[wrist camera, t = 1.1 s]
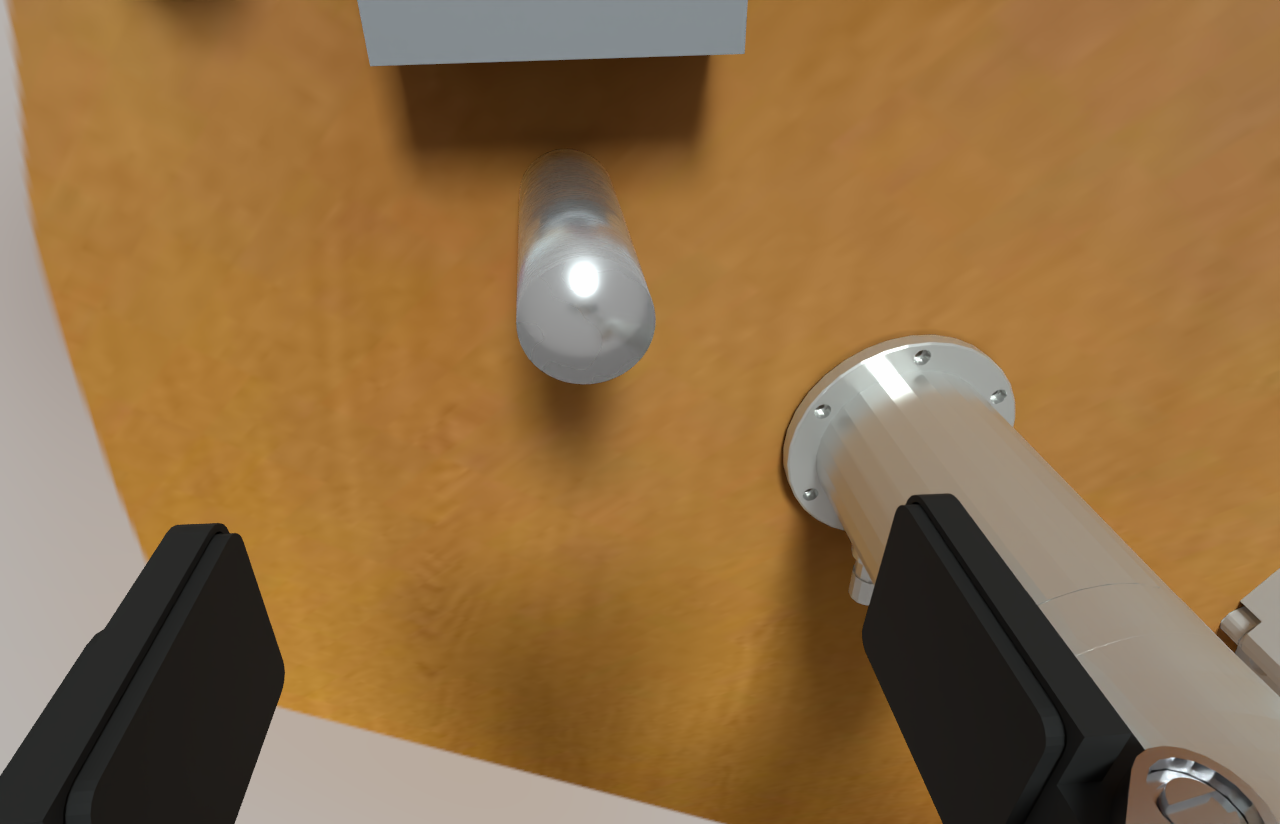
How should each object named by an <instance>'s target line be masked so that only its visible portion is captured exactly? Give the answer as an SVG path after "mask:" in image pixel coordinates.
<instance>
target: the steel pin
mask: <svg viewBox="0 0 1280 824" xmlns="http://www.w3.org/2000/svg"><path fill="white" fill-rule="evenodd" d="M516 323H517V333H518V338H519V341H520V344H521V346H522V348H523V350H524V352H525V354H526V355H527V357H528V358H529V359H530V360H531V362H532V363H533V364H534V365H535V366H536V367H538V368H539V369H540V370H541V371H543V372H544V373H546V374H547V375H549V376H551V377H553V378H555V379H558V380H561V381H564V382H569V383H574V384H594V383H600V382H604V381H608V380H611V379H613V378H616V377H618V376H620V375H622V374H623V373H625V372H626V371H628V370H629V369H631V368H632V367H633V366H634V365H635V364H636V363H637V362H638V361H639V360H640V359H641V358H642V357H643V355H644V354H645V352H646V351H647V349H648V347H649V345H650V343H651V341H652V338H653V334H654V330H655V310H654V306H653V302H652V299H651V296H650V293H649V290H648V287H647V284H646V281H645V278H644V275H643V273H642V270H641V267H640V264H639V261H638V258H637V255H636V252H635V249H634V246H633V243H632V240H631V237H630V234H629V231H628V228H627V225H626V222H625V219H624V216H623V213H622V211H621V208H620V205H619V202H618V199H617V196H616V193H615V190H614V187H613V184H612V181H611V179H610V176H609V174H608V173H607V171H606V170H605V168H604V167H603V166H602V165H601V163H600V162H599V161H597V160H596V159H595V158H593V157H592V156H590V155H589V154H586V153H584V152H581V151H578V150H573V149H559V150H554V151H551V152H548V153H546V154H544V155H542V156H540V157H539V158H538V159H536V160H535V161H534V162H533V163H532V164H531V165H530V166H529V168H528V169H527V170H526V172H525V174H524V176H523V179H522V181H521V185H520V192H519V229H518V274H517V318H516Z"/></svg>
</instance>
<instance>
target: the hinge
mask: <svg viewBox="0 0 1280 824" xmlns="http://www.w3.org/2000/svg"><path fill="white" fill-rule="evenodd" d="M1240 602H1241V603H1242V604H1244V605H1245V606H1243V607H1241V608H1239V609H1236V610H1234V611H1232V612H1230V613H1229V614H1228V615H1227V616H1226V617H1225V618H1224V619H1223V620H1222V621H1221V628H1220V629H1222V630H1223V631H1224V632H1225V633H1226V634H1227V635H1228V636H1229V637H1230V638H1231V639H1232V640H1233V641H1234V642H1235V643H1236V644H1237V645H1238V647H1237V649H1236V652H1235V654H1236V655H1237V656H1238V657H1239V658H1240V659H1241V660H1242V661H1243V662H1244V663H1245V664H1246V665H1247V666H1248V667H1249V668H1250V669H1251V670H1252V671H1253V672H1254V673H1256V674H1257V675H1258V676H1259V677H1260V678H1261V679H1262V680H1263V681H1264V682H1265V683H1266V684H1267V685H1268V686H1269V687H1270V688H1271V689H1272V690H1273V691H1274V692H1275V693H1276V694H1277V695H1278V696H1279V697H1280V568H1279V569H1278V570H1277V571H1276V572H1275V573H1273V574H1272V575H1271V576H1270V577H1268V578H1267V579H1266V580H1265V581H1264V582H1262V583H1261V584H1260V585H1259V586H1258V587H1256V588H1255V589H1254V590H1253V591H1252V592H1250V593H1249V594H1248V595H1247V596H1245V597H1244V598H1243V599H1242V600H1241V601H1240Z"/></svg>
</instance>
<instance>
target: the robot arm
mask: <svg viewBox="0 0 1280 824" xmlns="http://www.w3.org/2000/svg"><path fill="white" fill-rule="evenodd" d="M1014 421H1015V399H1014V395H1013V391H1012V388H1011V384H1010V382H1009V381H1008V379H1007V377H1006V376H1005V374H1004V372H1003V371H1002V369H1001V368H1000V367H999V366H998V365H997V364H996V363H995V362H994V361H993V360H992V359H991V358H990V357H989V356H988V355H986V354H985V353H983V352H982V351H981V350H979V349H978V348H976V347H975V346H974V345H971V344H969V343H966V342H964V341H961V340H959V339H956V338H952V337H945V336H939V335H912V336H907V337H902V338H897V339H892V340H888V341H885V342H882V343H880V344H877V345H874V346H872V347H869V348H866V349H864V350H862V351H861V352H859V353H857V354H855V355H853V356H852V357H850V358H848V359H846V360H844V361H843V362H842V363H840V364H839V365H838V366H836V367H835V368H834V369H833V370H831V371H830V372H829V373H827V374H826V375H825V376H824V377H823V378H822V379H821V380H820V381H819V382H818V383H817V384H816V385H815V386H814V387H813V388H812V389H811V390H810V391H809V392H808V394H807V395H806V397H805V398H804V400H803V401H802V403H801V404H800V405H799V407H798V408H797V410H796V412H795V414H794V416H793V418H792V421H791V423H790V425H789V427H788V430H787V434H786V438H785V443H784V447H783V465H784V469H785V473H786V477H787V481H788V483H789V485H790V487H791V489H792V491H793V494H794V496H795V498H796V499H797V500H798V502H799V503H800V504H801V506H802V507H803V508H804V510H805V511H807V512H808V513H809V514H810V515H812V516H813V517H814V518H815V519H816V520H818V521H820V522H822V523H824V524H826V525H828V526H830V527H833V528H836V529H840V530H844V531H846V533H847V535H848V537H849V539H850V541H851V543H852V548H851V551H852V555H853V557H854V558H855V559H856V562H855V565H854V566H853V571H852V576H851V580H850V585H849V591H848V592H849V594H850V596H851V598H852V599H853V600H855V601H856V602H857V603H860V604H863V605H869V607H868V611H867V614H866V618H865V621H864V625H863V630H862V638H863V645H864V649H865V652H866V654H867V656H868V659H869V661H870V663H871V665H872V668H873V670H874V672H875V674H876V676H877V679H878V681H879V683H880V685H881V687H882V690H883V692H884V694H885V696H886V699H887V701H888V703H889V705H890V707H891V710H892V712H893V714H894V716H895V718H896V721H897V723H898V725H899V727H900V730H901V732H902V734H903V736H904V738H905V741H906V743H907V745H908V747H909V749H910V752H911V754H912V756H913V758H914V761H915V763H916V765H917V767H918V769H919V772H920V774H921V776H922V778H923V780H924V783H925V785H926V787H927V789H928V792H929V794H930V796H931V798H932V800H933V803H934V805H935V807H936V809H937V811H938V814H939V816H940V818H941V820H942V823H943V824H1280V697H1279V696H1278V695H1277V694H1276V693H1275V692H1274V691H1273V690H1272V689H1271V688H1270V687H1269V686H1268V685H1267V684H1266V683H1265V682H1264V681H1263V680H1262V679H1261V678H1260V677H1259V676H1258V675H1257V674H1256V673H1254V672H1253V671H1252V670H1251V669H1250V668H1249V667H1248V666H1247V665H1246V664H1245V663H1244V662H1243V661H1242V660H1241V659H1240V658H1239V657H1238V656H1237V655H1236V654H1235V653H1234V652H1233V651H1232V650H1231V649H1230V648H1229V647H1228V646H1227V645H1226V644H1225V643H1224V642H1223V641H1222V640H1221V639H1220V638H1219V637H1218V636H1217V635H1216V634H1215V633H1214V632H1213V631H1212V630H1211V629H1210V628H1209V627H1208V626H1207V625H1206V624H1205V623H1204V622H1203V621H1202V620H1201V619H1200V618H1199V617H1198V616H1197V615H1196V614H1195V613H1194V612H1193V611H1192V610H1191V609H1190V608H1189V607H1188V606H1187V605H1186V604H1185V603H1184V602H1183V601H1182V600H1181V599H1180V598H1179V597H1178V596H1177V595H1176V594H1175V593H1174V592H1173V591H1172V590H1171V589H1170V588H1169V587H1168V586H1167V585H1166V584H1165V583H1164V582H1163V581H1162V580H1161V579H1160V578H1159V577H1158V576H1157V575H1156V574H1155V573H1154V572H1153V571H1152V570H1151V569H1150V567H1149V566H1148V565H1147V564H1146V563H1145V562H1144V561H1143V560H1142V559H1141V558H1140V557H1139V556H1138V555H1137V554H1136V553H1135V552H1134V551H1133V550H1132V549H1131V548H1130V547H1129V546H1128V545H1127V544H1126V543H1125V542H1124V541H1123V540H1122V539H1121V538H1120V537H1119V536H1118V535H1117V534H1116V533H1115V532H1114V531H1113V529H1112V528H1111V527H1110V526H1109V525H1108V524H1107V523H1106V522H1105V521H1104V520H1103V519H1102V518H1101V517H1100V516H1099V515H1098V514H1097V513H1096V512H1095V511H1094V510H1093V509H1092V508H1091V507H1090V506H1089V505H1088V504H1087V503H1086V502H1085V501H1084V500H1083V499H1082V498H1081V497H1080V496H1079V495H1078V494H1077V493H1076V492H1075V490H1074V489H1073V488H1072V487H1071V486H1070V485H1069V484H1068V483H1067V482H1066V481H1065V480H1064V479H1063V478H1062V477H1061V476H1060V475H1059V474H1058V473H1057V472H1056V471H1055V470H1054V469H1053V468H1052V467H1051V466H1050V465H1049V464H1048V463H1047V462H1046V461H1045V460H1044V459H1043V458H1042V457H1041V456H1040V455H1039V454H1038V453H1037V451H1036V450H1035V449H1034V448H1033V447H1032V446H1031V445H1030V444H1029V443H1028V442H1027V441H1026V440H1025V439H1024V438H1023V437H1022V436H1021V435H1020V434H1019V433H1018V432H1017V431H1016V430H1015V429H1014V428H1013V426H1014ZM284 675H285V670H284V663H283V659H282V656H281V653H280V650H279V647H278V644H277V641H276V638H275V635H274V632H273V629H272V626H271V623H270V620H269V617H268V614H267V611H266V608H265V605H264V602H263V599H262V596H261V593H260V590H259V587H258V584H257V581H256V578H255V575H254V572H253V569H252V566H251V563H250V560H249V557H248V554H247V551H246V548H245V545H244V542H243V540H242V538H241V536H240V535H239V534H237V533H229V531H228V529H227V527H226V526H225V525H224V524H220V523H212V524H188V525H176V526H173V527H172V528H171V529H170V530H169V531H168V532H167V533H166V535H165V536H164V538H163V539H162V541H161V543H160V544H159V546H158V547H157V549H156V550H155V552H154V553H153V555H152V556H151V558H150V560H149V561H148V563H147V564H146V566H145V567H144V569H143V570H142V572H141V573H140V575H139V576H138V578H137V580H136V581H135V583H134V584H133V586H132V587H131V589H130V590H129V592H128V593H127V595H126V597H125V598H124V600H123V601H122V603H121V604H120V606H119V607H118V609H117V611H116V612H115V613H114V615H113V617H112V618H111V620H110V621H109V623H108V624H107V626H106V627H105V629H104V630H102V631H100V632H99V633H97V634H96V635H95V636H94V637H93V638H92V639H91V641H90V642H89V643H88V644H87V645H86V647H85V648H84V650H83V652H82V653H81V654H80V656H79V657H78V659H77V661H76V662H75V664H74V665H73V667H72V668H71V670H70V671H69V673H68V674H67V676H66V677H65V679H64V680H63V682H62V683H61V685H60V686H59V688H58V689H57V691H56V692H55V694H54V695H53V697H52V699H51V700H50V702H49V703H48V704H47V706H46V708H45V709H44V711H43V712H42V714H41V715H40V717H39V718H38V720H37V721H36V723H35V724H34V726H33V727H32V729H31V730H30V732H29V733H28V735H27V736H26V738H25V739H24V741H23V743H22V744H21V745H20V747H19V748H18V750H17V751H16V753H15V754H14V756H13V758H12V759H11V761H10V762H9V764H8V765H7V767H6V768H5V770H4V771H3V773H2V774H1V776H0V824H234V823H235V821H236V818H237V815H238V812H239V809H240V806H241V804H242V801H243V798H244V796H245V792H246V790H247V787H248V784H249V782H250V779H251V775H252V773H253V770H254V768H255V765H256V762H257V759H258V756H259V754H260V751H261V748H262V745H263V742H264V739H265V737H266V734H267V731H268V728H269V725H270V723H271V720H272V717H273V714H274V711H275V709H276V706H277V703H278V700H279V697H280V695H281V692H282V688H283V684H284Z"/></svg>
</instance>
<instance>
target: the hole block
mask: <svg viewBox="0 0 1280 824" xmlns="http://www.w3.org/2000/svg"><path fill="white" fill-rule="evenodd" d="M357 1H358V6H359V11H360V16H361V21H362V27H363V32H364V37H365V42H366V47H367V52H368V57H369V62H370V66H388V65H418V64H449V63H479V62H510V61H540V60H570V59H601V58H631V57H662V56H692V55H723V54H744V52H745V36H746V19H747V2H748V0H357Z"/></svg>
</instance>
